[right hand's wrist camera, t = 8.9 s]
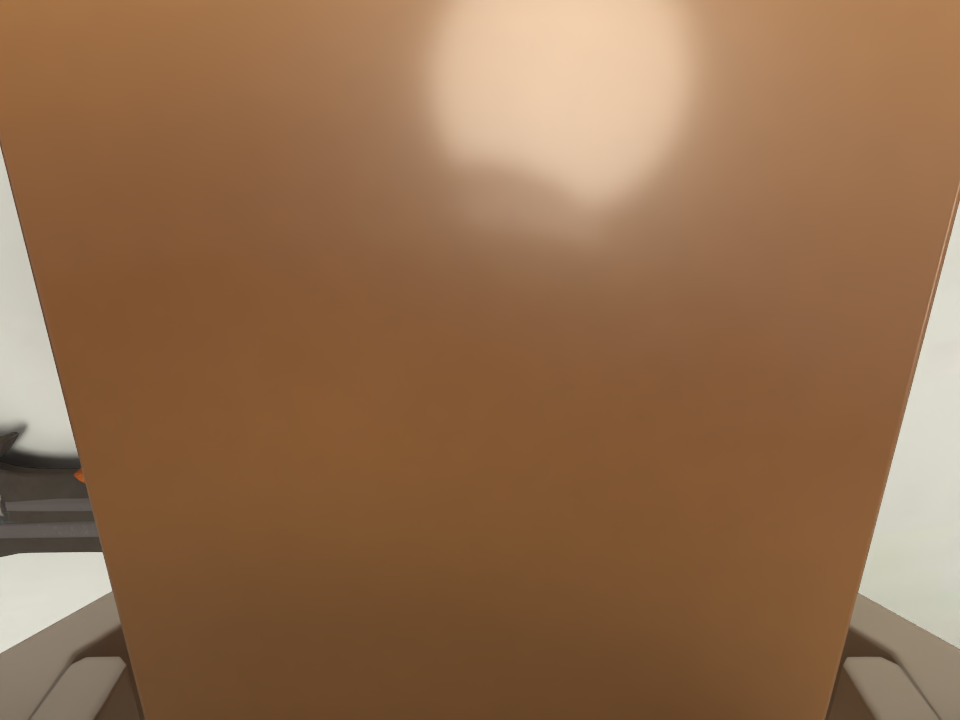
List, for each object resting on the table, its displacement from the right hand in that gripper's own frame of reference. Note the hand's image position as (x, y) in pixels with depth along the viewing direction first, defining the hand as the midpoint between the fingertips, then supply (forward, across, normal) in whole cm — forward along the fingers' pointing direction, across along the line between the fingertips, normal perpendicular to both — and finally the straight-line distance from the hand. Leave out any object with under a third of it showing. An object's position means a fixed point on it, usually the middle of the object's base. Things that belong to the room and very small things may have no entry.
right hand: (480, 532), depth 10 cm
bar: (+3, 0, -9) cm, 10 cm away
